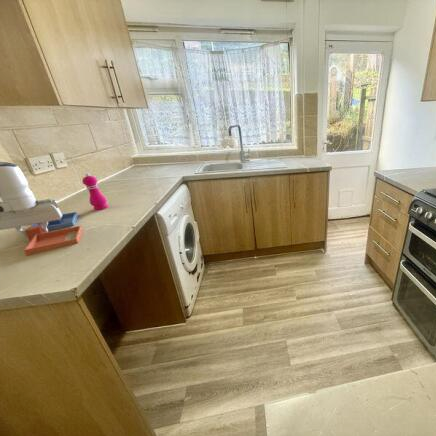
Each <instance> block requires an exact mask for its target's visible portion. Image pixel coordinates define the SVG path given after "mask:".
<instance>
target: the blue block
mask: <svg viewBox="0 0 436 436" xmlns="http://www.w3.org/2000/svg"><path fill="white" fill-rule="evenodd" d="M62 222H63V220H62V218H61V219H60V220H55V221H49V222H48V226H51V225H56V224H62Z"/></svg>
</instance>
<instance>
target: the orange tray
mask: <svg viewBox="0 0 436 436" xmlns="http://www.w3.org/2000/svg"><path fill="white" fill-rule="evenodd" d="M74 232H76V234H75V237H74V238H72V239H67V237H68V235H69V234H70V233H74ZM82 232H83V227H82V225H76V226H70V227H66V228H61V229H57V230H52V231H48V232H46V233H41V234H36V235H34V237H33V238H32V239H31V240H29V242H28V243H27V245H26V246H25V248H24V249H23V252H24V254H25V256H26V257H28V256H32V255H36V254H39V253H44V252H48V251H52V250H56V249H60V248H65V247H67V246H68V247H69V246H71V245H75V244H78V243H79V241H80V239H81V236H82ZM66 239H67V240H66Z"/></svg>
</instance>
